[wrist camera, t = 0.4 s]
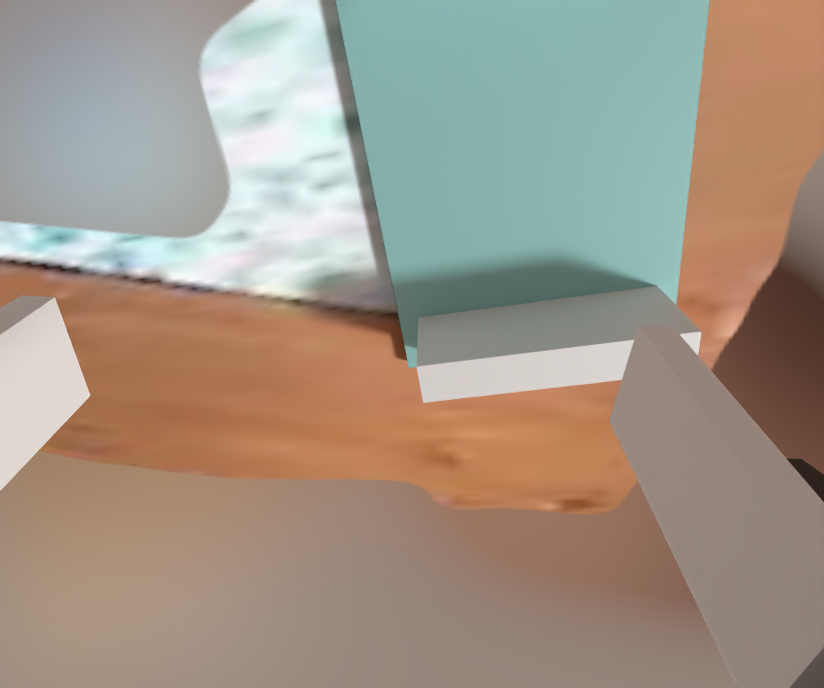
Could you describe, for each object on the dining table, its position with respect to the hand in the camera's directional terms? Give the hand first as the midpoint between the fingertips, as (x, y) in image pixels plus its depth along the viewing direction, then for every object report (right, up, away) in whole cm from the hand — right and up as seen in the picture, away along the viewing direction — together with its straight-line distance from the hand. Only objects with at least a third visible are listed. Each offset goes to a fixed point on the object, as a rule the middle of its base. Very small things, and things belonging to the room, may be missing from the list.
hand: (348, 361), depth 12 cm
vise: (+9, +13, +22) cm, 27 cm away
